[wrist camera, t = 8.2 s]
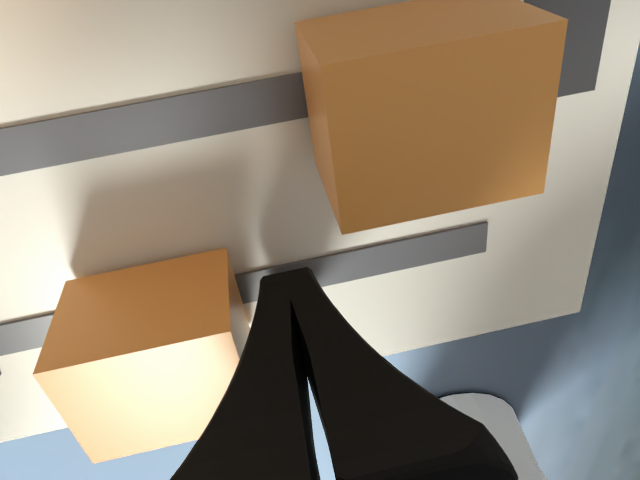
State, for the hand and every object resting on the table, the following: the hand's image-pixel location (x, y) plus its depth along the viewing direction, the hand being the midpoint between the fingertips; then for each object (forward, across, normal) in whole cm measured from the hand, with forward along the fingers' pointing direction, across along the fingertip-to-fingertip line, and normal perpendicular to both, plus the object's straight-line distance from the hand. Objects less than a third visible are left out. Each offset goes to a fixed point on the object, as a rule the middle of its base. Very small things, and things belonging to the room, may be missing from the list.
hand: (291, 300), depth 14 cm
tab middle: (+1, -3, -5) cm, 6 cm away
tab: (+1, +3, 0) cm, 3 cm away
